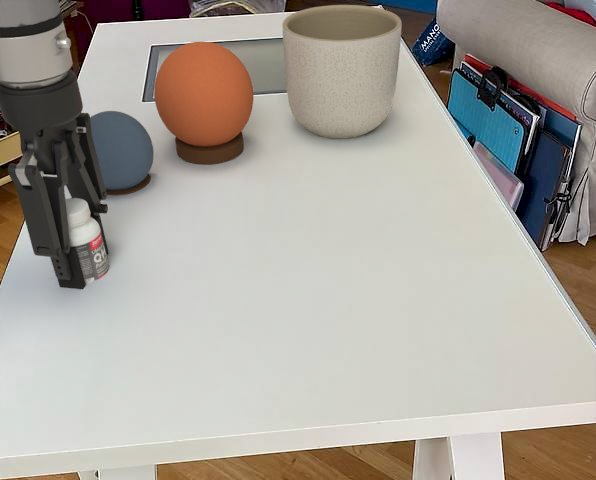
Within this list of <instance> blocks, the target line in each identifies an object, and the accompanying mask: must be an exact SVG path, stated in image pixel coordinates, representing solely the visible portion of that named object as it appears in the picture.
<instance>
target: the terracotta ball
mask: <svg viewBox="0 0 596 480" xmlns="http://www.w3.org/2000/svg"><path fill="white" fill-rule="evenodd" d="M153 91H154V93H153V95H154V102H155V107H156V110H157V113H158V115H159V118H160V120H161V122H162V123H163V124H164V126H165V127H166V129H167V130H168V131H169V132H170V133H171V134H172V135H173V136H174V141H175V143H174V144H175V150H176V154H177V156H178V157H179V158H180V159H181V160H182V161H184V162H187V163H190V164H194V165H216V164H223V163H226V162H230V161H232V160H234V159H236V158H237V157H239V156H240V155H242V153H243V152H244V149H245V146H244V144H245V143H244V134H243V130H244V129H245V127H246V125H247V124H248V122H249V120H250V118H251V115H252V111H253V106H254V88H253V83H252V79H251V76H250V73H249V72H248V69H247V68H246V65H244V63H243V62H242V61H241V59H240V58H239V57H238V56H237V55H236V54H235V53H233V52H232V51H231V50H230V49H228V48H227V47H224V46H223V45H221V44H217V43H215V42H212V41H203V40H202V41H201V40H200V41H191V42H188V43H185V44H183V45H181V46H179V47H177V48H176V49H175V50H173V51H171V52H170V53H169V54H168V55H167V56H166V58H165V59H164V60H163V61H162V63H161V65H160V67H159V69H158V71H157V74H156V76H155V80H154V90H153Z"/></svg>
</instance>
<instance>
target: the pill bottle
mask: <svg viewBox="0 0 596 480" xmlns="http://www.w3.org/2000/svg"><path fill="white" fill-rule="evenodd" d="M65 201H66V210H67V220H68V230H69V240H70V246H72V247H76V251H77V254H78V258H79V262H80V266H81V269H82V273H83V277H84V281H85V284H89V283H92V282H95V281H97V280H99V279H101V278H103V277H104V276H105V275H106V274H107V273H108V272H109V270H110V263H109V260H108V255H106V251H105V247H104V242H103V238H102V234H101V229H100V226H99V224H98V222H97V221H96V220H95V219H93V218H92V217H90V210H89V206H88V203H87V202H86V201H85V200H83V199H80V198H72V197H69V198H68V197H67V198H65Z"/></svg>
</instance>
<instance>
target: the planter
mask: <svg viewBox="0 0 596 480" xmlns="http://www.w3.org/2000/svg"><path fill="white" fill-rule="evenodd" d="M402 26H403V23H402V19H401V17H399V16H398V15H397V14H395V13H394V12H391V11H389V10H386V9H383V8H380V7H375V6H368V5H360V4H359V5H358V4H331V5H321V6H314V7H308V8H305V9H301V10H299V11H296V12H293V13H291V14H290V15H288V16H286V17H285V18H284V20H283V21H282V45H283V61H284V62H283V63H284V75H285V86H286V95H287V100H288V105H289V109H290V111H291V114H292V115H293V117H294V118H295V120H296V121H297V122H298V124H300V125H301V126H302V127H303V128H305V129H306V130H307V131H309V132H311V133H312V134H315V135H317V136H320V137H324V138H327V139H328V138H329V139H351V138H357V137H360V136H363V135H366V134H368V133H370V132H372V131H373V130H374V129H376V128H377V127H378V126H380V125H381V124H382V123H383V122H385V120H386V118H387V117H388V115H389V114H390V112H391V110H392V107H393V104H394V100H395V94H396V90H397V89H396V88H397V81H398V71H399V62H400V61H399V60H400V51H401V49H400V48H401V41H402V40H401V38H402V29H403V28H402Z"/></svg>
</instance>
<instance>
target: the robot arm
mask: <svg viewBox="0 0 596 480" xmlns="http://www.w3.org/2000/svg"><path fill="white" fill-rule="evenodd" d="M64 23H65V22H64V18H63V13H62V9H61V7H60V2H59V0H0V112H1V115H2V118H3V120H4V121H5V122H6V123H7V124H8V125H10V126H11V127H13V128H14V129H15V130H16V131H17V132H18V134H19V140H20V151H21V152H20V153H21V154H22V157H21V158H20V160H19V162H18V163H9V164H8V167H7V173H8V177H10V180H11V181H12V183H13V186H14V187H15V188H16V189H15V190H16V193H17V196H18V200H19V203H20V207H21V211H22V214H23V218H24V222H25V225H26V229H27V233H28V237H29V240H30V243H31V248H32V250H33V255H34V256H37V257H48V258H50V260H51V265H52V268H53V270H54V274H55V277H56V278H57V282H58V285H59V287H60V288H64V289H74V290H75V289H76V290H84V289H85V288H86V286H87V285H86V284H87V283H85V281H84V277H83V273H82V269H81V266H80V262H79V258H78V254H77V251H76V247H72V246H70V240H69V230H68V220H67V210H66V201H65V199H66V193H65V187H66V189H67V191H68V193H69V195H70V198H80V199H83V200H85V201H86V202H87V203H88V206H89V210H90V217H92V218H93V219H95V220H96V221H97V222H98V224H99V226H100V229H101V234H102V238H103V242H104V247H105V251H106V255H107V256H108V255H109V254H110V252H109V249H108V244H107V239H106V235H105V231H104V227H103V223H102V219H101V215H100V214H104V215H105V214H107V213H108V212H109V205H108V203H102V201H105V200H106V199H107V196H108V195H106V189H105V185H104V181H103V177H102V173H101V169H100V165H99V161H98V158H97V154H96V150H95V146H94V142H93V138H92V132H91V121H90V117H91V115H90V114H89V112H83V108H84V104H83V99H82V95H81V91H80V87H79V81H78V77H77V74H76V72H75V71H73V70H72V67H73V64H74V63H73V58H72V53H71V49H70V48H71V46H72V42H71V38H69V37H68V35H67V31H66V27H65V24H64ZM94 186H96V188H94Z"/></svg>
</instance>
